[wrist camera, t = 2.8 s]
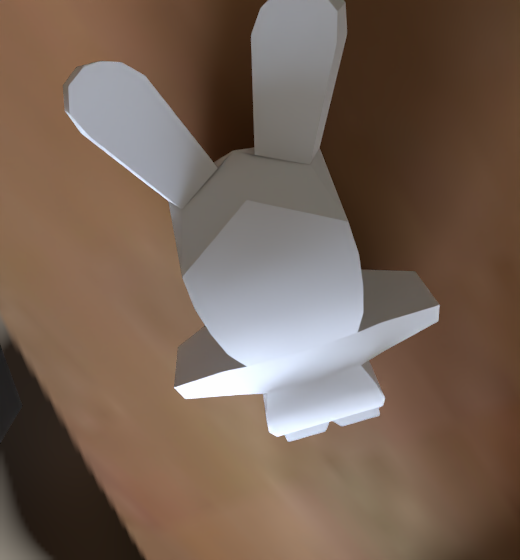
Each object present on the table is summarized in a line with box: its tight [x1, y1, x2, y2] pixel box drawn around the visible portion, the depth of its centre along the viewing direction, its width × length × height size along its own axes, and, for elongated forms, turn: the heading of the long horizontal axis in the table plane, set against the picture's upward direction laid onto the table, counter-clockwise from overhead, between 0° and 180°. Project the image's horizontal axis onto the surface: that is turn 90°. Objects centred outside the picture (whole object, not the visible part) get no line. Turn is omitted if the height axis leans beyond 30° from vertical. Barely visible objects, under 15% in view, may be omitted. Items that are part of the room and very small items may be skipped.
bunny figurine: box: [63, 0, 440, 442], centre depth 15 cm, size 10×5×15 cm
